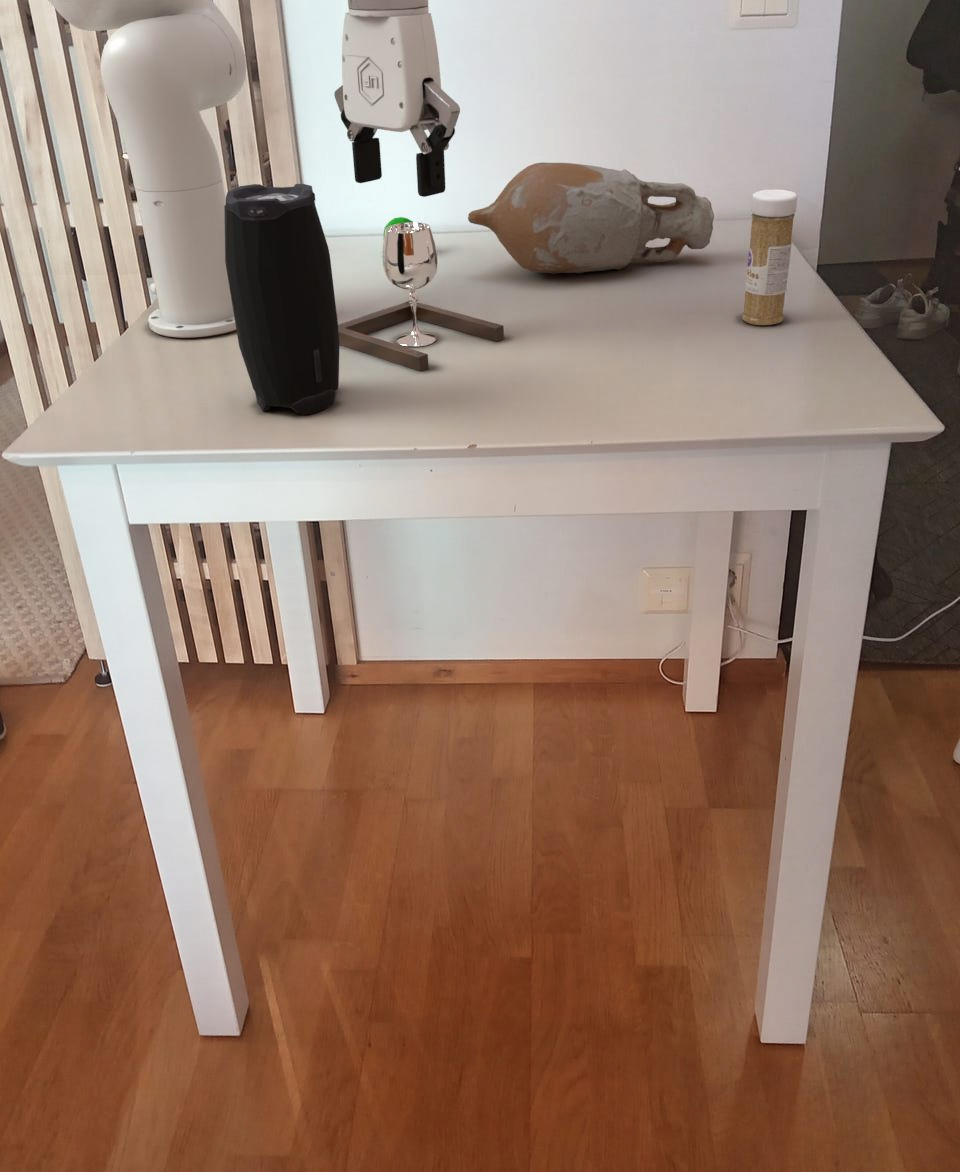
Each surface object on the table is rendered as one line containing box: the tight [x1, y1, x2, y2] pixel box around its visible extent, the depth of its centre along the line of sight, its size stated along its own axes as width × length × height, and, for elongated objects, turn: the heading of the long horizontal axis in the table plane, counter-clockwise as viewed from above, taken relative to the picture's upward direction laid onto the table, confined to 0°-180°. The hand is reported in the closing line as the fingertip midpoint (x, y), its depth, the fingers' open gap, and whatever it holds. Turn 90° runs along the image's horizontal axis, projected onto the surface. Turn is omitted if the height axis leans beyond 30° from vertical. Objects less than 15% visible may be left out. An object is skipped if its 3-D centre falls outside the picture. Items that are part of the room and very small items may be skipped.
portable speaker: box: [224, 183, 341, 416], centre depth 98 cm, size 9×9×20 cm
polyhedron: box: [383, 216, 414, 236], centre depth 147 cm, size 5×5×5 cm
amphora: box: [467, 162, 715, 275], centre depth 134 cm, size 14×16×30 cm
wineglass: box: [382, 221, 439, 348], centre depth 114 cm, size 6×6×12 cm
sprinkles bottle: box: [741, 189, 798, 326], centre depth 114 cm, size 5×5×14 cm
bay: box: [338, 300, 505, 372], centre depth 117 cm, size 15×12×2 cm
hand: (399, 187), depth 109 cm, fingers open, 9 cm apart
